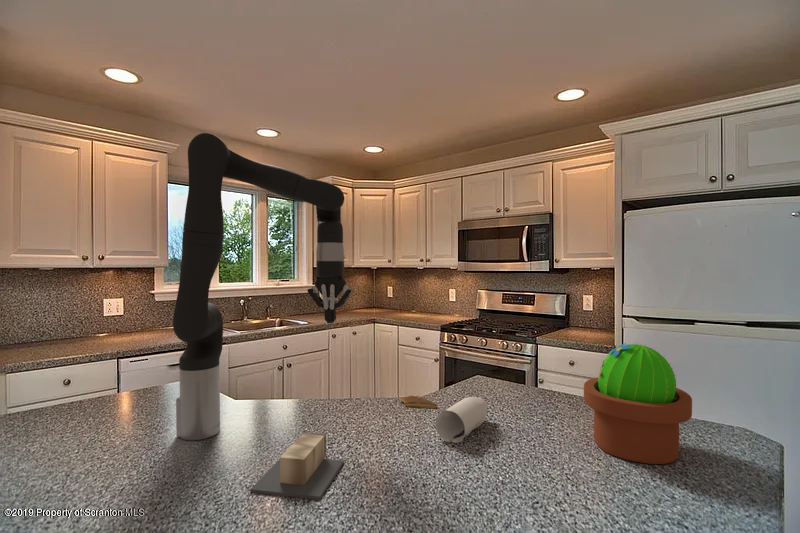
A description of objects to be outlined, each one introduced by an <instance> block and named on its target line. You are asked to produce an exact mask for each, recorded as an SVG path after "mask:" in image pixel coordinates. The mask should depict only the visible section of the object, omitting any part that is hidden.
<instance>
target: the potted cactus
mask: <svg viewBox="0 0 800 533" xmlns="http://www.w3.org/2000/svg"><path fill="white" fill-rule="evenodd" d="M607 354H608V355H607V356H606V357H605V359H603V362H602V365H600V371H599V372H598V373H599V374H598V377H593V378H590V379H588V380H586V381H585V382H584V383H583V401H584V403H585V404H586V405H587V406H588V407H589V408H591V409H592V410H593V440H594V442H595V444H596V446H598V449H601V450H602V451H604V452H605V453H607V454H609V455H611V456H614V457H616V458H620V459H622V460H626V461H631V462H635V463H640V464H649V465H666V464H671V463H673V462H676V460H677V459H678V458H679V455H680V424H682V423H685V422H688V421H690V419H691V418H692V416H693V399H692V397H691V395H690V394H689V393H688V392H686V391H684V390H683V389H681V388H679V387H677V384H678V382H677V380H676V378H677V377H676V374H675V372H674V370H673V369H675V366H673V367H672V366H671V365H672V362H671V363H669V361H668V360H667V359H666V358H665V356H663V355H662V354H660V353H659V352H658V351H656V349H654V348H652V347H649V346H647V345H643V343H640V344H639V343H638V342H636V344H635V343H632V344H631V343H630V344H627V342H624V343H622V344H620V345H619V346H617V347H615V348H613V349H611V350H610V351H609V352H607Z"/></svg>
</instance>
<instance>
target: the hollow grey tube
mask: <svg viewBox="0 0 800 533" xmlns="http://www.w3.org/2000/svg"><path fill="white" fill-rule="evenodd" d="M488 405H489V404H488V403H487V401H486V400H485V399H483V398H482V397H481V396H479V397H476V396H468V397H465V398H463V399H461V400H460V401H457V402H456V403H454V404H453V405H451V406H449V407H448V408H446V409H445V410H442V411H440V412H438V413H437V416H436V417H435V422H434V425H435V430H436V432H437V434H438V435H439V437H440V438H441V439H442V440H443V441H445V443H446V442H447V443H448V442H453V444H457V443H460V442H462V441H463V439H464V438H465V437H467V436H469V435H470V434H471V432H473V431H474V430H475V429H476V428H479V427H480V426H481V425H482V424H483V423H484V422H485V420H486V417H487V414H488V408H489V407H488ZM463 431H464V433H463V434H462V435H460V436H459V437H455V436H457V435H459V434H461V433H462V432H463Z"/></svg>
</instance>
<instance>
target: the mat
mask: <svg viewBox="0 0 800 533" xmlns="http://www.w3.org/2000/svg"><path fill="white" fill-rule="evenodd" d="M344 462H345V460H339V459H331V458H324V460H323V461H322V462H321V463H320V465H319V466H318V467H317V469H316V470H315V471H314V473H313V474H312V475H311V477H310V478H309V479H308V480H307V482H306V483H305V484H304V485H298V484H288V483H280V459H278V460H277V461H276V462H275V464H273V466H271V467H270V468H269V470H268V471H267V472H266V473H265V474H264V475H262V477H261V478H259V479H258V481H257V482H256V483H255V484H253V486H252V487H251V488H250V489H249V491H250V493H252V494H253V493H254V494H264V495H272V496H280V497H289V498H290V497H291V498H298V499H300V498H301V499H307V500H308V499H309V500H317V501H318V500H319V501H320V500H321V499H322V497H323V496H324V494H325V493H326V491H327V490H328V488H329V487H330V485H331V484H332V482H333V481H334V479H335V477H336V476H337V474H338V473H339V471H340V469H342V466H343V465H344Z"/></svg>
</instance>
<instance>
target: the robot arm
mask: <svg viewBox="0 0 800 533" xmlns="http://www.w3.org/2000/svg"><path fill="white" fill-rule="evenodd" d="M226 144H227V143H225V142H224V141H223V140H222V139H221V138H220V137H219V136H217V135H216V134H214V133H211V132H202V133H199V134H197V135H195V136H194V137H193V138H192V139H191V141H190V142H189V144H188V147H187V162H188V163H187V164H188V165H187V167H188V170H187V171H188V190H187V191H188V193H187V199H186V205H185V213H184V221H183V227H182V228H183V229H182V240H181V241H182V242H181V258H180V259H181V260H180V268H179V269H180V271H179V283H178V284H179V285H178V290H177V296H176V299H175V300H176V301H175V305H174V311H173V316H172V329H173V332H174V335H175V336H176V337H177V338H178V339H179V340H180V341H182V342H183V343H186V347H185V349H184V351H183V352H182V354H181V355H180V357H179V361H178V364H179V366H178V367H179V368H178V369H179V372H178V374H179V376H178V377H179V396H178V397H177V398H176V400H175V415H176V416H175V417H176V418H175V422H176V424H175V426H176V431H175V432H176V433H175V434H176V437H179V438H181V439H182V440H184V441H199V440H204V439H207V438H208V439H209V438H211V437H214V436H216V435H217V434H218V433H219V432H220V431H221V394H220V393H221V392H220V388H221V387H220V386H221V384H220V380H221V379H220V359H221V355H222V351H223V343H224V342H223V341H224V339H223V336H224V321H223V320H224V318H223V315H222V312H221V310H220V308H219V307H218V306H217V305H215V304H213V303H211V302H209V295H210V294H209V292H210V288H211V282H212V279H213V278H214V277H213V276H214V275H215V273H216V270H217V268H218V266H219V263H220V262H221V258H222V255H223V254H222V253H223V246H224V245H223V244H224V233H225V225H224V224H225V223H224V222H225V221H224V211H223V202H222V186H223V179H224V178H226V179H232V180H234V181H239V182H242V183H246V184H250V185H252V186H255V187H258V188H260V189H262V190H266V191H268V192H270V193H273V194H276V195H278V196H282V197H284V198H286V199H289V200H292V201H295V202H300V203H307V204H310V205H313V206H315V210H316V220H317V227H316V228H317V229H316V244H317V245H316V249H315V250H316V251H315V253H316V254H315V256H316V257H315V258H316V264H315V267H316V269H315V270H316V271H315V273H316V280H315V282H314V286H311V287H310V288H307V293H308V294H309V296H310V297H311V298H312V300H313V302H314V303H315V304H316V305H317V307H319V308H322V309H324V321H325V322H326V324H334V323H335V322H336V320H337V309H338V308H340V307H343V306H344V305H345V303H346V302H347V301H348V300H349V298H350V297H351V295H352V294H353V293H354V289H353V288H350V287H349V286H348V285H347V282H346V281H345V249H344V228H343V224H342V219H341V218H342V217H341V216H342V215H341V214H342V213H341V211H342V210H341V209H342V206H343V205H344V202H345V194H344V192H343V190H342V189H341V188H340V187H338V186H337V185H335V184H332V183H330V182H326V181H324V180H323V181H322V180H318V179H315V178H310V177H307V176H304V175H302V174H300V173H297V172H294V171H292V170H289V169H286V168H283V167H280V166H278V165H277V166H276V165H272V164H267V163H262V162H259V161H256V160H253V159H250V158H248V157H245V156H242V155H241V154H239V153H237V152H235V151H233V150H232V149H230V148H229V147H228V146H227V145H226ZM319 293H320V294H319ZM341 293H342V296H341V297H340V298H339V295H341ZM320 295H321V296H320Z"/></svg>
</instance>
